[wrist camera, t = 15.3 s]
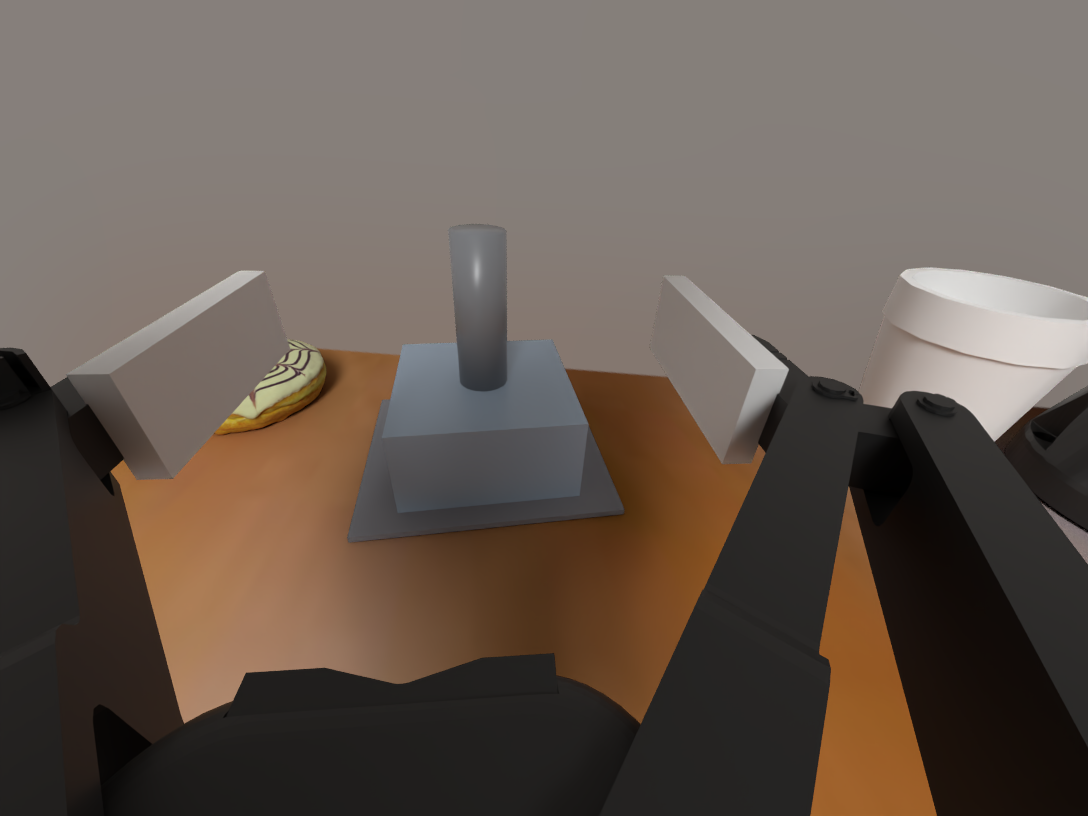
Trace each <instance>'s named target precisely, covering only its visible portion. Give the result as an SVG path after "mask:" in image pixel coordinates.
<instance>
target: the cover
mask: <svg viewBox="0 0 1088 816" xmlns="http://www.w3.org/2000/svg"><path fill="white" fill-rule="evenodd" d="M448 232H449V245H450V258H451V271H452V284H453V297H454V310H455V324H456V336H457V343H434V344H404V345H403V346H402V351H401V355H400V360H399V364H398V369H397V373H396V377H395V382H394V386H393V391H392V395H391V399H390V404H389V408H388V413H387V417H386V422H385V426H384V430H383V435H382V441H383V446H384V450H385V455H386V460H387V465H388V469H389V474H390V479H391V483H392V488H393V493H394V498H395V502H396V507H397V512H398V513H403V512H414V511H425V510H435V509H446V508H456V507H467V506H477V505H488V504H499V503H509V502H520V501H530V500H541V499H552V498H562V497H573V496H580V488H581V480H582V472H583V464H584V456H585V448H586V440H587V432H588V422H587V419H586V417H585V415H584V412H583V410H582V408H581V405H580V403H579V401H578V398H577V396H576V394H575V391H574V389H573V387H572V384H571V382H570V380H569V377H568V375H567V373H566V370H565V368H564V366H563V363H562V361H561V359H560V356H559V354H558V352H557V350H556V347H555V345H554V342H553V340H524V341H507V278H506V277H507V271H506V270H507V263H506V262H507V261H506V259H507V258H506V230H505V229H504V228H502V227H498V226H492V225H483V224H467V225H458V226H454V227H451V228H449V230H448Z"/></svg>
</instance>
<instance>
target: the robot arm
mask: <svg viewBox="0 0 1088 816" xmlns="http://www.w3.org/2000/svg"><path fill="white" fill-rule="evenodd" d="M650 349H651V351H652V352H653V354H654V355H655V357H656V359H657V360H658V362H659V364H660V365H661V367H662V368H663V370H664V372H665V373H666V375H667V376H668V378H669V380H670V381H671V383H672V384H673V386H674V388H675V389H676V391H677V392H678V394H679V396H680V397H681V399H682V400H683V402H684V404H685V405H686V407H687V408H688V410H689V412H690V413H691V415H692V416H693V418H694V420H695V421H696V423H697V424H698V426H699V427H700V429H701V431H702V432H703V434H704V435H705V437H706V439H707V440H708V442H709V443H710V445H711V447H712V448H713V450H714V451H715V453H716V455H717V456H718V458H719V459H720V461H721V463H722V464H741V463H751V462H752V460H753V457H754V455H755V452H756V450H757V447H758V445H760V446H761V447H762V449H763V450H764V451H765V452H766V454H765V456H764V458H763V461H762V463H761V465H760V467H759V469H758V472H757V474H756V476H755V478H754V480H753V483H752V485H751V487H750V489H749V491H748V494H747V496H746V498H745V500H744V502H743V505H742V507H741V509H740V511H739V513H738V516H737V518H736V520H735V522H734V524H733V526H732V529H731V531H730V533H729V535H728V537H727V540H726V542H725V544H724V546H723V548H722V551H721V553H720V555H719V557H718V559H717V562H716V564H715V566H714V568H713V570H712V573H711V575H710V577H709V579H708V581H707V584H706V586H705V588H704V590H702V592H701V594H700V597H699V599H698V601H697V603H696V605H695V607H694V609H693V612H692V614H691V616H690V618H689V620H688V623H687V625H686V627H685V629H684V631H683V633H682V636H681V638H680V640H679V642H678V644H677V647H676V649H675V651H674V653H673V655H672V658H671V660H670V662H669V664H668V666H667V668H666V671H665V673H664V675H663V677H662V679H661V682H660V684H659V686H658V688H657V690H656V692H655V695H654V697H653V699H652V701H651V703H650V706H649V708H648V710H647V712H646V714H645V716H644V719H643V721H642V723H641V725H640V723H639V722H638V721H637V720H636V719H635V718H634V717H632V716H631V715H630V714H629V713H628V712H627V711H626V710H625V709H623V708H622V707H621V706H620V705H619V704H617V703H616V702H614V701H613V700H612V699H610V698H609V697H607V696H606V695H604V694H603V693H601V692H599V691H597V690H595V689H593V688H592V687H590V686H588V685H585V684H583V683H580V682H578V681H575V680H572V679H569V678H565V677H561V676H557V675H556V667H555V657H554V653H551V654H536V655H520V656H504V657H488V658H480V659H477V660H474V661H471V662H468V663H465V664H462V665H459V666H456V667H454V668H451V669H448V670H445V671H442V672H439V673H436V674H433V675H430V676H427V677H424V678H421V679H418V680H415V681H412V682H409V683H405V684H393V683H389V682H384V681H380V680H375V679H371V678H367V677H362V676H358V675H354V674H349V673H345V672H341V671H336V670H332V669H328V668H315V669H299V670H283V671H268V672H252V673H246V674H245V676H244V678H243V681H242V683H241V685H240V687H239V689H238V691H237V694H236V696H235V698H234V700H233V701H232V702H229V703H226V704H224V705H221V706H219V707H217V708H215V709H212V710H210V711H208V712H205V713H203V714H201V715H199V716H198V717H196V718H194V719H192V720H190V721H188V722H187V723H185V724H184V722H183V720H182V717H181V714H180V710H179V706H178V703H177V699H176V695H175V691H174V688H173V684H172V680H171V676H170V673H169V669H168V665H167V661H166V658H165V654H164V650H163V646H162V643H161V639H160V635H159V631H158V628H157V624H156V620H155V616H154V612H153V609H152V605H151V601H150V597H149V594H148V590H147V586H146V582H145V579H144V575H143V571H142V567H141V564H140V560H139V556H138V552H137V549H136V545H135V541H134V537H133V534H132V530H131V526H130V522H129V518H128V515H127V511H126V507H125V503H124V500H123V496H122V492H121V488H120V485H119V483H118V482H117V480H116V479H115V477H114V476H113V475H112V473H111V472H110V471H111V470H112V469H113V468H114V467H115V466H117V465H118V464H119V463H120V462H121V461H122V460H124V461H125V463H126V464H127V466H128V467H129V469H130V470H131V472H132V473H133V475H134V476H135V478H136V479H137V480H145V479H173V478H174V477H175V476H176V475H177V474H178V472H179V471H180V470H181V469H182V468H183V467H184V466H185V465H186V464H187V463H188V461H189V460H190V459H191V458H192V457H193V456H194V455H195V454H196V453H197V451H198V450H199V449H200V448H201V447H202V446H203V445H204V444H205V443H206V442H207V440H208V439H209V438H210V437H211V436H212V435H213V434H214V433H215V432H216V430H217V429H218V428H219V427H220V426H221V425H222V424H223V423H224V422H225V421H226V419H227V418H228V417H229V416H230V415H231V414H232V413H233V412H234V411H235V409H236V408H237V407H238V406H239V405H240V404H241V403H242V402H243V401H244V399H245V398H246V397H247V396H248V395H249V394H250V393H251V392H252V391H253V390H254V388H255V387H256V386H257V385H258V384H259V383H260V382H261V381H262V380H263V378H264V377H265V376H266V375H267V374H268V373H269V372H270V371H271V370H272V369H273V367H274V366H275V365H276V364H277V363H278V362H279V361H280V360H281V359H282V357H283V356H284V355H285V354H286V353H287V352H288V351H289V350H290V346H289V343H288V340H287V337H286V334H285V331H284V328H283V325H282V322H281V319H280V316H279V313H278V310H277V306H276V303H275V300H274V297H273V294H272V291H271V288H270V285H269V282H268V279H267V276H266V273H265V271H238V272H237V273H235V274H233V275H232V276H230V277H228V278H227V279H225V280H223V281H222V282H220V283H218V284H217V285H215V286H213V287H212V288H210V289H208V290H207V291H205V292H203V293H202V294H200V295H198V296H197V297H195V298H193V299H192V300H190V301H188V302H186V303H185V304H183V305H181V306H180V307H178V308H176V309H175V310H173V311H171V312H170V313H168V314H166V315H165V316H163V317H161V318H160V319H158V320H157V321H155V322H153V323H151V324H150V325H148V326H146V327H145V328H143V329H141V330H140V331H138V332H136V333H135V334H133V335H131V336H130V337H128V338H126V339H124V340H123V341H121V342H119V343H118V344H116V345H114V346H113V347H111V348H109V349H108V350H106V351H104V352H103V353H101V354H99V355H98V356H96V357H95V358H93V359H91V360H89V361H88V362H86V363H84V364H83V365H81V366H79V367H78V368H76V369H74V370H73V371H71V372H69V373H68V374H66V375H67V378H65V379H63V380H62V381H60V382H58V383H57V384H55V385H53V386H52V387H50V386H49V385H48V383H47V382H46V381H45V379H44V378H43V376H42V375H41V374H40V372H39V371H38V369H37V368H36V367H35V365H34V364H33V362H32V361H31V360H30V358H29V357H28V355H27V354H26V353H25V352H24V351H23V350H22V349H16V348H0V816H810V814H811V807H812V801H813V794H814V787H815V780H816V774H817V767H818V760H819V754H820V747H821V740H822V734H823V727H824V720H825V713H826V707H827V700H828V693H829V687H830V673H831V668H830V664H829V660H828V659H826V658H825V657H823V656H821V655H819V647H820V640H821V634H822V629H823V623H824V618H825V612H826V607H827V601H828V596H829V590H830V585H831V579H832V574H833V568H834V563H835V557H836V551H837V546H838V540H839V535H840V529H841V524H842V518H843V513H844V507H845V502H846V496H847V491H848V486H849V488H850V491H851V495H852V499H853V503H854V506H855V510H856V514H857V518H858V521H859V525H860V529H861V533H862V536H863V540H864V544H865V548H866V551H867V555H868V559H869V562H870V566H871V570H872V574H873V577H874V581H875V585H876V589H877V592H878V596H879V600H880V604H881V607H882V611H883V615H884V619H885V622H886V626H887V630H888V634H889V637H890V641H891V645H892V649H893V652H894V656H895V660H896V664H897V667H898V671H899V675H900V678H901V682H902V686H903V690H904V693H905V697H906V701H907V705H908V708H909V712H910V716H911V720H912V723H913V727H914V731H915V735H916V738H917V742H918V746H919V750H920V753H921V757H922V761H923V765H924V768H925V772H926V776H927V780H928V783H929V787H930V791H931V795H932V798H933V802H934V806H935V809H936V813H937V816H1088V564H1087V563H1086V562H1085V560H1084V559H1083V558H1082V556H1081V555H1080V554H1079V552H1078V551H1077V550H1076V548H1075V547H1074V546H1073V544H1072V543H1071V542H1070V541H1069V539H1068V538H1067V537H1066V535H1065V534H1064V533H1063V531H1062V530H1061V529H1060V527H1059V526H1058V525H1057V523H1056V522H1055V521H1054V520H1053V518H1052V517H1051V516H1050V514H1049V513H1048V512H1047V510H1046V509H1045V508H1044V506H1043V505H1042V504H1041V502H1040V501H1039V500H1038V499H1037V497H1036V496H1035V495H1034V493H1035V494H1036V495H1037V496H1038V497H1040V498H1041V499H1042V500H1043V501H1045V502H1046V503H1047V504H1049V505H1050V506H1052V507H1053V508H1054V509H1056V510H1057V511H1059V512H1060V513H1062V514H1063V515H1065V516H1066V517H1068V518H1069V519H1071V520H1072V521H1074V522H1075V523H1077V524H1079V525H1080V526H1082V527H1084V528H1085V529H1087V530H1088V386H1087V387H1085V388H1083V389H1081V390H1080V391H1078V392H1076V393H1075V394H1073V395H1071V396H1070V397H1068V398H1066V399H1065V400H1063V401H1062V402H1060V403H1058V404H1056V405H1055V406H1053V407H1051V408H1050V409H1048V410H1046V411H1045V412H1043V413H1041V414H1040V415H1038V416H1036V417H1035V418H1033V419H1031V420H1030V421H1029V422H1027V423H1026V424H1025V425H1024V426H1023V427H1022V428H1021V429H1020V431H1019V432H1018V433H1017V434H1016V435H1015V437H1014V438H1013V439H1012V440H1011V441H1010V443H1009V444H1008V445H1007V447H1006V449H1005V455H1004V454H1003V453H1002V451H1001V450H1000V449H999V447H998V446H997V445H996V443H995V442H994V441H993V439H992V438H991V437H990V435H989V434H988V433H987V432H986V430H985V429H984V428H983V426H982V425H981V424H980V422H979V421H978V420H977V418H976V417H975V416H974V414H973V413H971V412H970V411H969V410H968V409H967V408H966V407H964V406H962V405H960V404H959V403H957V402H956V401H955V400H954V399H951V398H949V397H945V396H944V395H941V394H932V393H928V392H921V391H906V392H904V393H902V394H901V395H900V396H899V398H898V400H897V401H896V403H895V405H894V406H893V408H887V407H881V406H875V405H868V404H863V402H864V400H863V397H862V395H861V394H860V393H859V392H858V391H857V390H856V389H854V388H852V387H850V386H848V385H846V384H844V383H842V382H839V381H836V380H833V379H828V378H824V377H812V376H811V377H808V376H807V375H806V374H805V373H804V372H803V371H801V370H800V369H799V368H798V367H797V366H796V365H794V364H793V363H792V362H791V361H790V360H787V358H786V357H785V356H784V355H783V354H782V353H779V351H778V350H777V349H775V347H773V346H772V345H771V344H770V343H769V342H767V341H765V340H763V339H761V338H759V337H756V336H755V335H750V334H749V333H748V332H747V331H746V330H745V329H744V328H743V327H741V326H740V325H739V324H738V323H737V322H736V321H735V320H734V319H732V318H731V317H730V316H729V315H728V314H727V313H726V312H725V311H723V310H722V309H721V308H720V307H719V306H718V305H717V304H716V303H714V302H713V301H712V300H711V299H710V298H709V297H708V296H707V295H706V294H704V293H703V292H702V291H701V290H700V289H699V288H698V287H697V286H696V285H694V284H693V283H692V282H691V281H690V280H689V279H688V278H687V277H685V276H663V281H662V285H661V291H660V296H659V301H658V306H657V312H656V317H655V322H654V327H653V332H652V338H651V343H650ZM1033 492H1034V493H1033Z"/></svg>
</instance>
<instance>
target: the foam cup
mask: <svg viewBox="0 0 1088 816" xmlns="http://www.w3.org/2000/svg"><path fill="white" fill-rule="evenodd" d="M882 313H883V314H884V318H883V320H882V323H881V326H880V329H879V332H878V335H877V338H876V341H875V344H874V347H873V350H872V353H871V356H870V359H869V362H868V365H867V367H866V371H865V373H864V376H863V379H862V382H861V385H860V388H859V391H858V392H859V393H860V394H861V395H862V397H863V400H864V402H863V404H868V405H875V406H881V407H887V408H893V406H894V405H895V403H896V401H897V400H898V398H899V396H900V395H901V394H902V393H904V392H906V391H921V392H928V393H932V394H941V395H944V396H945V397H949V398H951V399H954V400H955V401H956V402H957V403H959V404H960V405H962V406H964V407H966V408H967V409H968V410H969V411H970V412H971V413H973V414H974V416H975V417H976V418H977V420H978V421H979V422H980V424H981V425H982V426H983V428H984V429H985V430H986V432H987V433H988V434H989V435H990V437H991V438H992V439H993V441H994V442H995V441H996V440H997V439H998V438H999V437H1000V436H1001V435H1002V434H1003V433H1005V432H1006V431H1007V430H1008V429H1009V428H1010V427H1011V426H1012V425H1013V424H1014V423H1016V422H1017V421H1018V420H1019V419H1020V418H1021V417H1022V416H1023V415H1024V414H1025V413H1026V412H1028V411H1029V410H1030V409H1031V408H1032V407H1033V406H1034V405H1035V404H1036V403H1037V402H1039V401H1040V399H1042V398H1043V397H1044V396H1045V395H1046V394H1047V393H1048V392H1050V391H1051V390H1052V389H1053V388H1054V387H1055V386H1056V385H1057V384H1058V383H1059V382H1061V381H1062V380H1063V379H1064V378H1065V377H1066V376H1067V375H1068V374H1069V373H1070V372H1071V371H1073V370H1074V369H1075V368H1076V367H1077V366H1079V365H1083V364H1087V363H1088V297H1084V296H1081V295H1077V294H1074V293H1071V292H1068V291H1064V290H1061V289H1058V288H1055V287H1051V286H1047V285H1042V284H1038V283H1034V282H1029V281H1025V280H1020V279H1015V278H1011V277H1006V276H1000V275H993V274H987V273H981V272H974V271H967V270H958V269H944V268H930V267H929V268H917V269H907V270H905V271H904V272H903V273H902V274H901V275H900V276H899V278H898V280H897V282H896V284H895V286H894V288H893V290H892V292H891V294H890V296H889V298H888V300H887V302H886V304H885V306H884V308H883V310H882Z"/></svg>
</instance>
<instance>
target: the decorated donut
mask: <svg viewBox="0 0 1088 816" xmlns="http://www.w3.org/2000/svg"><path fill="white" fill-rule="evenodd" d="M288 343H289V346H290V350H289V351H288V352H287V353H286V354H285V355H284V356H283V357H282V359H281V360H280V361H279V362H278V363H277V364H276V365H275V366H274V367H273V369H272V370H271V371H270V372H269V373H268V374H267V375H266V376H265V377H264V378H263V380H262V381H261V382H260V383H259V384H258V385H257V386H256V387H255V388H254V390H253V391H252V392H251V393H250V394H249V395H248V396H247V397H246V398H245V399H244V401H243V402H242V403H241V404H240V405H239V406H238V407H237V408H236V409H235V411H234V412H233V413H232V414H231V415H230V416H229V417H228V418H227V419H226V421H225V422H224V423H223V424H222V425H221V426H220V427H219V428H218V429H217V430H216V432H215V433H214V434H217V435H224V434H228V433H230V432H233V433H236V432H244V431H248V430H255V429H259V428H263V427H265V426H267V425H269V424H272V423H274V422H280V421H283V420H284V419H286V418H287V417H288V416H289V415H291V414H293V413H294V412H297V411H299V410H301V409H302V408H304V407H305V406H306V405H308V404H309V403H311V402H312V401H313V400H314V399H315V398H316V397H317V396H319V393H320V391H321V390H322V388H323V385H324V382H325V376H326V366H325V363H324V361H323V358H322V356H321V353H320V352H319V351H318V350H317V348H316V347H313V346H312V345H309V344H306V343H304V342H301V341H296V340H288Z"/></svg>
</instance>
